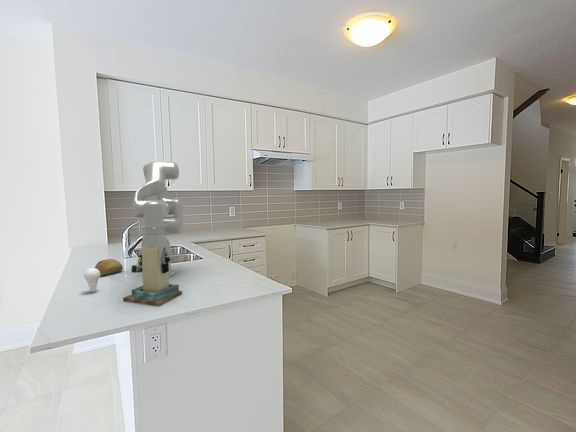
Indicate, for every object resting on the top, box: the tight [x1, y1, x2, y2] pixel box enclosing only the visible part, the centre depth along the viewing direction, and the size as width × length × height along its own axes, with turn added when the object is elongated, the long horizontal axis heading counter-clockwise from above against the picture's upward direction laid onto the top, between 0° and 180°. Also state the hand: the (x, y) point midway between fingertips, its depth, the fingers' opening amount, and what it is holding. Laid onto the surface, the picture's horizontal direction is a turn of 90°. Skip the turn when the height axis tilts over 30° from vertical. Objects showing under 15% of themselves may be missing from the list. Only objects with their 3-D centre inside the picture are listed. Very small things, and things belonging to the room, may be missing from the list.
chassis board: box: [122, 283, 183, 307], centre depth 124 cm, size 18×14×4 cm
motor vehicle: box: [130, 257, 142, 273], centre depth 172 cm, size 12×19×11 cm, turn 14°
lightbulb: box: [83, 267, 101, 293], centre depth 130 cm, size 6×6×11 cm
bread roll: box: [94, 258, 124, 277], centre depth 159 cm, size 10×15×8 cm, turn 154°
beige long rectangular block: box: [141, 246, 170, 293], centre depth 122 cm, size 8×7×21 cm
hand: (156, 271), depth 123 cm, fingers open, 9 cm apart
